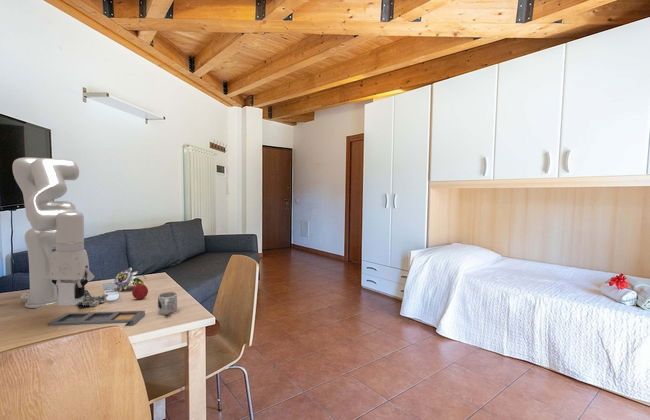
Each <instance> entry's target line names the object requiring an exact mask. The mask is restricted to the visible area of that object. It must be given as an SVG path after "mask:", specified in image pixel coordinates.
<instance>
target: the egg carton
mask: <svg viewBox="0 0 650 420" xmlns="http://www.w3.org/2000/svg"><path fill="white" fill-rule="evenodd" d="M108 297H109V294H102V295H97V296H96V295H92V296H90V295H86V296H85V295H84V296H83V300H84V301H83V300H82V301H81V302H79V303H77V304H76V305H75V306H79V305H83V306H82V307H84V305H85V306H89V307H97V306H99V305H100V304H105V303H107V298H108ZM91 299H92V300H91ZM81 303H82V304H81Z"/></svg>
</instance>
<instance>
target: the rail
mask: <svg viewBox="0 0 650 420" xmlns="http://www.w3.org/2000/svg"><path fill="white" fill-rule="evenodd" d="M144 316H146V310H124V311H92V312H90V311H89V312H86V311H85V312H65V313H63V314H61V315H60V316H59V317H57V318H55V319H53V320H52V321H50V322H48V323H47V326H49V327H52V326H72V325H73V326H76V325H77V326H78V325H105V324H109V325H110V324H125V325H124V326H135V325H136V324H137V323H138V322H139V321H141V319H142V318H143V317H144Z"/></svg>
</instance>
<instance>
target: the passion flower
mask: <svg viewBox="0 0 650 420" xmlns="http://www.w3.org/2000/svg"><path fill="white" fill-rule="evenodd" d="M132 271H133V268H132V267H128V269H125V270H123V271H120V272H118V273H117V275H116V276H115V277H114V280H113V281H111V284H115V285H116V290H118V292H122V291H123V290H127V289H128V287H129V284H133V286H134V287H135V286H136V285H138V283H139V282H141V283H142V284H144V283H145V282H144V281H143V280H141V279H140V278H141V277H144V280H146V279H147V277H146V276H145V274H143V275H142V274H141V275H139V277H137V276H136V275H137V274H138V273H139V271H133V272H132ZM144 285H145V284H144Z"/></svg>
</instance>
